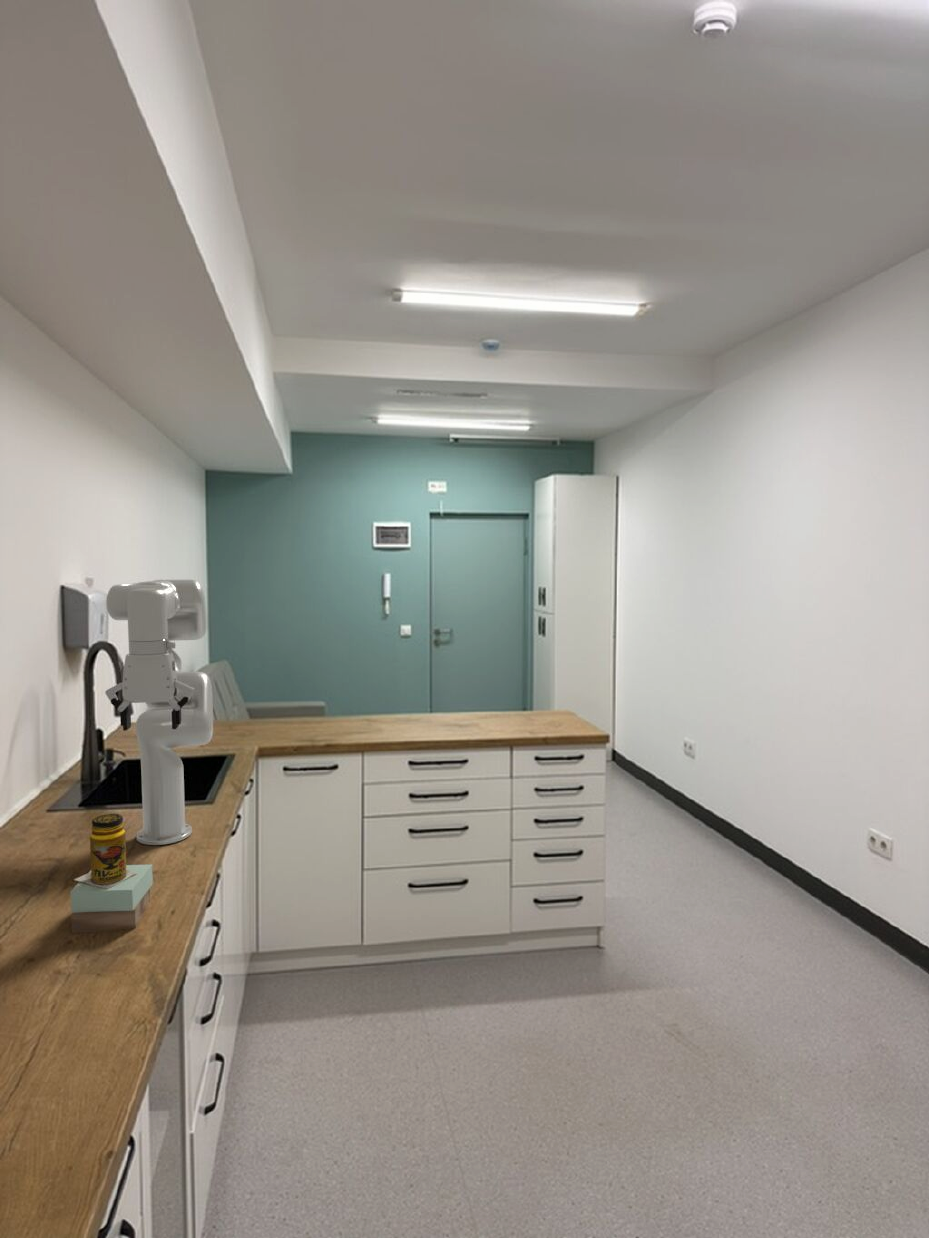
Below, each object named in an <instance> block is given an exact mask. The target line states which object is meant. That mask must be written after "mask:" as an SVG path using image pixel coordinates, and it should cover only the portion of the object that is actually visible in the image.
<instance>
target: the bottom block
mask: <svg viewBox="0 0 929 1238" xmlns="http://www.w3.org/2000/svg"><path fill="white" fill-rule="evenodd" d="M149 900H150V901H151V887H150V888H149V890H148V891H147V892H146V894H145V895H144V896H143V898H142V899H141V900H140V902H139V903H138V904H137V906H136V907H135V908H134V910H132V911H103V912H75V913H71V916H70V917H71V918H70V919H71V934H77V933H78V934H79V933H80V934H81V933H91V932H104V931H117V930H130V929H136V928H137V926H138V925H139V923H138V922H140V921H141V919H142V917H143V916H144V914H145V911H146V910H145V908H146V907H147V908H148V906H147V905H149V904H148V902H149ZM149 903H150V902H149ZM147 908H146V909H147ZM140 918H141V919H140ZM139 920H140V921H139ZM137 924H138V925H137Z"/></svg>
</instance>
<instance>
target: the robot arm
mask: <svg viewBox="0 0 929 1238" xmlns="http://www.w3.org/2000/svg"><path fill="white" fill-rule="evenodd" d="M106 595H107V596H106V602H105V603H106V609H107V612H108V614H109V616H110V617H111V618H112V620H114V621H127V632H128V633H127V634H128V637H127V638H128V653H127V654H126V655H125V659H124V666H123V672H122V673H123V674H122V682H120V683H118V684H116V685H114V686H112V687H110V688H108V689H106V690H105V695H106V696H107V699H108V700H109V701H110V704H111V705H112V706H113V707H115V708H116V709H117V711H118V713H119V717H120V719H119V720H120V726H121V727H122V730H123V731H124V732H126V731H128V730H129V729H130V728H131V727H132V716H131V715H132V714H131V711H132V710H131V709H130V708H129V706H131V704H134V703H135V704H141V703H142V704H146V706H147V707H148V708H149V709H150V710H146V711H144V712H142V713H141V714H140V715H139V716H138V717H137V718H136V722H135V734H136V738H137V742H138V743H137V744H138V749H139V755H140V770H141V773H140V774H141V797H142V798H141V802H142V828H141V829H139V830H138V832H137V833H136V841H137V842H138V843H140V844H144V845H145V846H146V845H148V846H161V845H162V846H163V845H169V844H174V843H177V842H178V843H179V842H181V841H183V840H185V839H187V838H188V837H190V836H191V834H192V833H193V828H192V826H191V824H189V823H186V813H185V812H186V811H185V810H186V809H185V808H186V807H185V779H184V776H185V775H184V770H185V769H184V764H183V761H182V759H181V757H180V756H179V754H177V753H176V752H175V751H174V750H173V749H175V748H185V747H198V746H204V745H207V744H208V743H210V742H211V739H212V738H213V734H214V705H213V687H212V686H213V685H212V681H211V679H210V676H209V675H208V674H207V673H206V672H203V671H182V658H181V657H180V656H179V654H178V653H177V652H176V651H175V650H174V649H176V641H179V642H180V641H197V640H200V639H202V638H203V637H204V636H205V635H206V632H207V629H208V628H207V627H208V622H207V610H206V609H207V607H206V596H205V593H204V589H203V587H202V585H201V584H200V583H199V582H198V581H197V580H195V579H154V580H150V581H139V582H134V583H133V582H132V583H122V584H121V583H120V584H114V585H112V586H111V587H110V588H109V590H108V593H107V594H106ZM121 690H122V699H123V700H121V699H120V698H119V697H118V696H117V695H116V693H117V692H119V691H121Z"/></svg>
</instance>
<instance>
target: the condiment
mask: <svg viewBox="0 0 929 1238" xmlns="http://www.w3.org/2000/svg"><path fill="white" fill-rule="evenodd" d="M91 824H92V827H91V833H90V837H89V843H90V845H89V847H90V848H89V849H90V853H89V854H90V861H89V862H90V871H91V872H90V871H89V872H88V873H86V874H83V875H81V876H79V877H76V878H74V879H73V880H74V881H77V882H80V881H81V882H84V883H87V884H90V885H93V886H97V887H101V888H105V889H106V888H109V887H111V886H113V885H116V884H118V883H120V882H122V881H123V880H125V879H127V878H129V877H131V876H132V875H134V874H136V873H137V872H133V871H129V870H126V865H127V846H126V845H127V844H126V835H127V834H126V830H125V828H124V818H123V816H122V815H121V814H120V813H119V814H118V813H105V814H100V815H98V816H96V817H94V818H93V819H92V820H91Z"/></svg>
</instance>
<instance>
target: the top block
mask: <svg viewBox="0 0 929 1238" xmlns="http://www.w3.org/2000/svg"><path fill="white" fill-rule="evenodd" d="M126 870H129V871H133V872H137V873H136V874H134V875H132V876H131V877H129V878H127V879H125V880H123V881H122V882H120V883H118V884H116V885H113V886H111V887H109V888H106V889H105V888H101V887H97V886H93V885H90V884H87V883H84V882H81V881H78V883H77V884H76V885H75V886H74V887H73V889H71V890H70V897H69V898H70V913H71V914H72V913H75V912H103V911H132V910H134V908H135V907H136V906H137V904H138V903H139V902H140V900H141V899H142V898H143V896H144V895H145V894H146V892H147V891H148V890H149V888H150V889H151V888H152V887H151V886H152V885H153V884H154V880H153V864H126ZM89 872H91V870H90V871H89Z"/></svg>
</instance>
